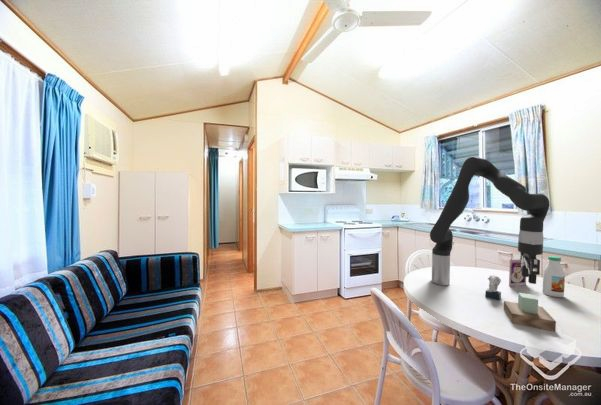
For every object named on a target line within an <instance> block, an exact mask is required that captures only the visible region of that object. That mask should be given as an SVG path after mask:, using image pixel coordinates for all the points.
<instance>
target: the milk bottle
mask: <svg viewBox="0 0 601 405" xmlns="http://www.w3.org/2000/svg"><path fill="white" fill-rule="evenodd" d="M547 260H548V263H547V264H546V266H545V267H544V270H543V275H542V277H543V278H542V293H543V294H545V295H546V296H550V297H553V298H564V296H565V282H566V281H565V270H564V269H563V267H562V265H561V263H562V257H560V256H555V255H549V256H548V259H547Z"/></svg>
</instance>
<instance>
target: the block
mask: <svg viewBox="0 0 601 405" xmlns="http://www.w3.org/2000/svg"><path fill="white" fill-rule="evenodd" d="M517 294H518V295H517V297H518V298H517V299H518V300H517V303H518V307H519V308H520V310H521V311H523V312H529V313H534V314H538V306H539V298H538V297H536V296H535V295H534V294H528V293H524V292H518V293H517Z"/></svg>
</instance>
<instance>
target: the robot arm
mask: <svg viewBox="0 0 601 405" xmlns="http://www.w3.org/2000/svg"><path fill="white" fill-rule="evenodd" d="M474 176H476V177H482V178H484V179H486V180H488V181H490V182H491V184H493V186H494V188H495V189H496V190H497V191H498V192H500V193H502V194H503V195H504V196H506V197H507V198H509V200H510V201H511V202H512V204H513V205H514V206H515V207H517V208H518V209H519V210H522V211H526V212H527V214H526V215H524V216H522V217H520V221H519V232H518V240H517V241H518V242H517V251H518V252H519V253H520V256H519V258H520V265H521V267H523V268H522V276H523V277H526V278H528V284H533V285H536V284H537V277H538V276H539V275H540V274H541V272H540V268H541V260H540V259H539V258H537V256H540V255H543V253H544V251H543V250H544V221H545V219H546V216H547V214H548V212H549V210H550V200H549V198H548V196H547V195H545V194H543V193H529V192H527V188H526V187H525V185H523V184H522V183H520V182H518V181H517V180H515V179H513V178H511V177H510V176H508V175H506V173H503V172H502V171H501V170H500V169H498V168H497V167H496V166H495V165H494V164H493V163H492V162H491V161H489V160H488V159H487V158H484V157H483V158H482V157H478V156H469V157H468V158H466V159H465V160H464V161H463V163H462V165H461V169H460V170H459V174H458V177H457V179H456V182H455V185H454V187H453V188H452V190H451V193H450V194H449V196H448V197H447V200H446V203H445V205H444V207H443V209H442V211H441V213H440V215H439V217H438V219H437V220H436V222H435V224H434V225H433V227H432V228H431V230H430V232H429V238H430V239H431V241H432V243H435V245H434V246H433V248H432V250H431V251H432V252H431V284H436V285H437V286H449V285H450V283H451V282H450V280H451V278H450V277H451V275H450V274H451V252H452V250H453V240H454V235H453V232H452V230H451V228H450V227H451V225H453V223H454V222H455V221H456V220H457V219H458V218H459V217H460V216H461V214H462V213H464V211H465V209H466V207H467V206H468V203H469V201H470V190H469V187H470V183H471V182H472V179H473V177H474Z"/></svg>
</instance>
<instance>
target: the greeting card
mask: <svg viewBox="0 0 601 405" xmlns="http://www.w3.org/2000/svg"><path fill="white" fill-rule="evenodd" d="M522 268H523V267H521V265H520V259H513V256H511V257H510V259H509V271H508V272H509V277H508V280H509V281H508V287H514V286H526V285H527V277H523V276H522Z"/></svg>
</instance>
